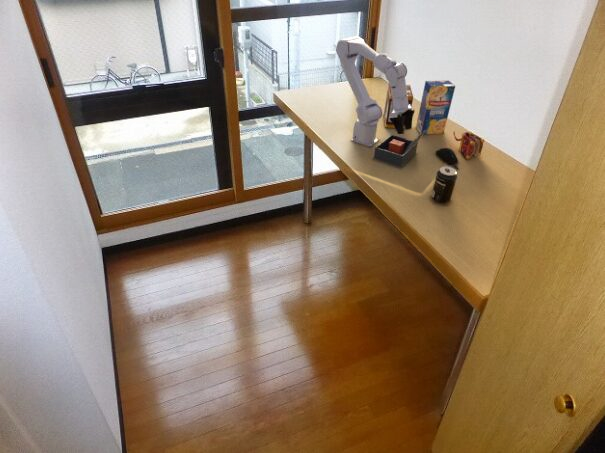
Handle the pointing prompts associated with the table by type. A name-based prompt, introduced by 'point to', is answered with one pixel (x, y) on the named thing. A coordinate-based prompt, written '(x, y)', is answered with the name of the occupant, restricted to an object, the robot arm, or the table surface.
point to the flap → (414, 142)
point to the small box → (396, 147)
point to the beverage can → (444, 185)
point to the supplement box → (390, 107)
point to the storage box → (391, 157)
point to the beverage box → (435, 106)
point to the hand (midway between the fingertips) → (404, 131)
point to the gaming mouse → (447, 156)
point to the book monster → (470, 144)
